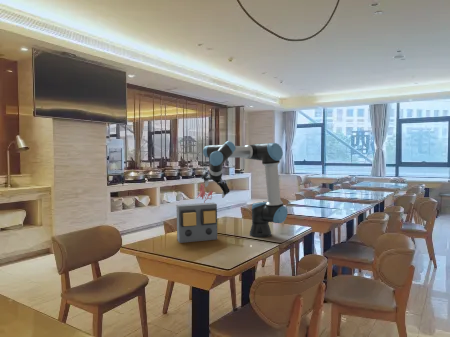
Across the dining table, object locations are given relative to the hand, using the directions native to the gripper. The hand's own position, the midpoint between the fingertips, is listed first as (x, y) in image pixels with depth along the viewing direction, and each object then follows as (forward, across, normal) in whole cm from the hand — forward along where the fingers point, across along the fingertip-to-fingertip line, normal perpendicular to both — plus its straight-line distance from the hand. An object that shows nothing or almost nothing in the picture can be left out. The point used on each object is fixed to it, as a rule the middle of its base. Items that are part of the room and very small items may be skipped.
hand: (215, 191), depth 225 cm
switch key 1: (+14, -3, -24) cm, 28 cm away
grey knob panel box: (+29, +2, -23) cm, 37 cm away
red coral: (+61, -10, -1) cm, 61 cm away
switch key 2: (+19, +5, -13) cm, 23 cm away
